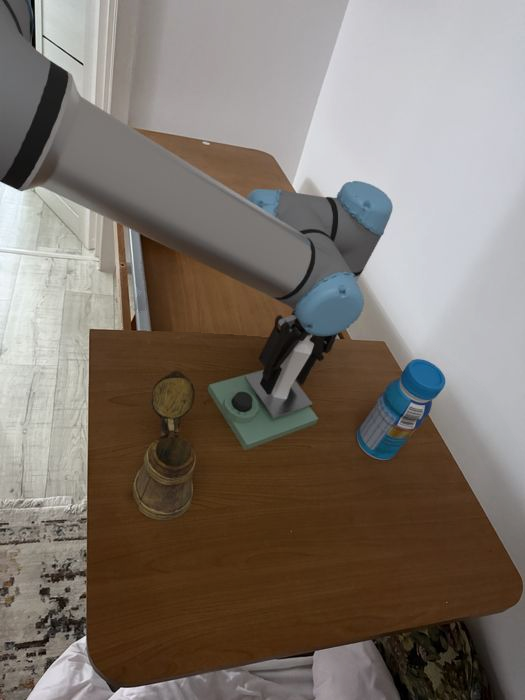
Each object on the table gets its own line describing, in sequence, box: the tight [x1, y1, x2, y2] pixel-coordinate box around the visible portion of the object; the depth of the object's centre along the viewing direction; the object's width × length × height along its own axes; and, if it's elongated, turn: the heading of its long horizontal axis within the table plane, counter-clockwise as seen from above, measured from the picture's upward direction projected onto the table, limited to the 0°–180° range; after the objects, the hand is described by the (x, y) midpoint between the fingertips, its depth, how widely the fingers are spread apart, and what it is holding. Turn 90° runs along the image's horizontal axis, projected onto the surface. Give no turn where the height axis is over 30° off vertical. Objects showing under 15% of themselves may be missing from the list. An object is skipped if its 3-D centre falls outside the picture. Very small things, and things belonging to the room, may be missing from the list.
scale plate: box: [245, 371, 314, 419], centre depth 93 cm, size 9×10×1 cm
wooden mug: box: [131, 369, 196, 521], centre depth 72 cm, size 9×14×18 cm, turn 13°
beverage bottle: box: [356, 358, 446, 461], centre depth 89 cm, size 8×8×20 cm
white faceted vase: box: [272, 333, 314, 399], centre depth 87 cm, size 5×4×15 cm
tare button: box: [233, 392, 253, 412], centre depth 88 cm, size 3×3×2 cm
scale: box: [206, 369, 319, 451], centre depth 92 cm, size 17×14×4 cm
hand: (282, 383), depth 91 cm, fingers open, 7 cm apart
